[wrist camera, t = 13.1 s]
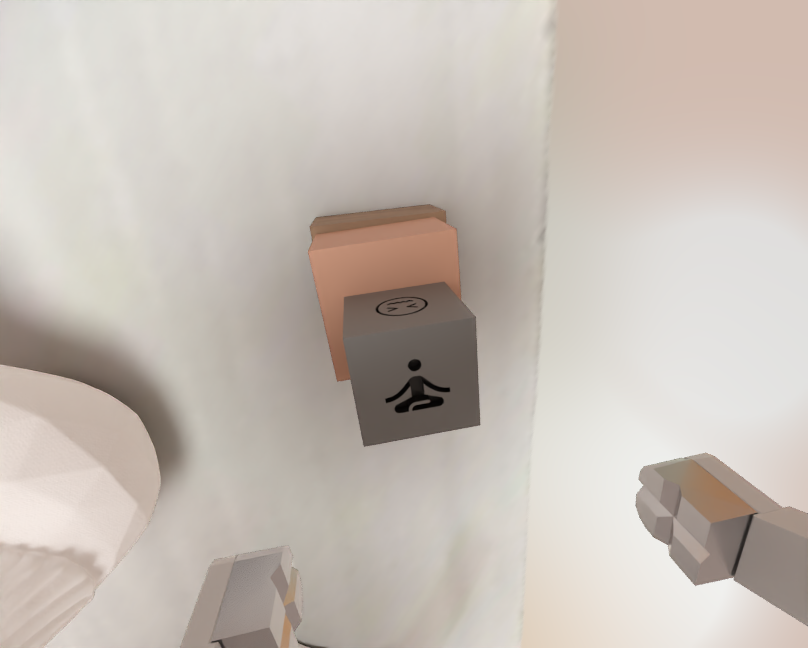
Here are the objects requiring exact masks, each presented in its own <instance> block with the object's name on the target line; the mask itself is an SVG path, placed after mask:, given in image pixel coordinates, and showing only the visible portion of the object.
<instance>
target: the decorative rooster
mask: <svg viewBox="0 0 808 648" xmlns="http://www.w3.org/2000/svg"><path fill="white" fill-rule="evenodd" d="M160 485H161V478H160V470H159V465H158V460H157V455H156V451H155V448H154V445H153V443H152V441H151V439H150V436H149V434H148V432H147V430H146V428H145V426H144V424H143V423H142V421H141V419H140V418H139V416H138V415H137V414H136V413H135V412H134V411H132V410H131V409H130V408H129V407H128V406H126V405H125V404H123V403H122V402H120V401H119V400H118V399H116V398H114V397H113V396H111V395H109V394H107V393H105V392H103V391H101V390H99V389H96V388H94V387H92V386H89V385H87V384H85V383H82V382H80V381H77V380H73V379H69V378H65V377H61V376H57V375H52V374H48V373H43V372H38V371H34V370H28V369H23V368H17V367H12V366H6V365H0V648H43V647H44V646H45V645H46V644H47V643H48V642H49V641H51V640H52V639H53V638H54V637H55V636H56V635H57V634H58V633H59V632H60V631H61V630H62V629H63V628H64V627H65V626H66V625H67V624H68V623H69V622H70V621H71V620H72V619H73V618H74V617H75V616H76V615H77V614H78V613H79V612H80V610H81V609H82V608H83V607H84V606H86V605H87V604H88V603H89V602H90V601H91V600H92V599H93V597H94V595H95V590H96V589H97V587H98V586H99V585H100V584H101V583H102V582H103V581H104V579H105V578H106V577H107V576H108V574H109V573H110V572H112V571H113V570H114V568H115V567H116V566H117V565H118V564H119V563H120V561H121V560H122V559H123V558H124V557H125V555H126V554H127V553H128V552H129V551H130V549H131V548H132V547H133V545H134V544H135V543H136V542H137V540H138V539H139V537H140V536H141V535H142V533H143V532H144V530H145V529H146V527H147V526H148V524H149V522H150V519H151V517H152V514H153V511H154V508H155V506H156V502H157V498H158V495H159V491H160Z"/></svg>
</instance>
